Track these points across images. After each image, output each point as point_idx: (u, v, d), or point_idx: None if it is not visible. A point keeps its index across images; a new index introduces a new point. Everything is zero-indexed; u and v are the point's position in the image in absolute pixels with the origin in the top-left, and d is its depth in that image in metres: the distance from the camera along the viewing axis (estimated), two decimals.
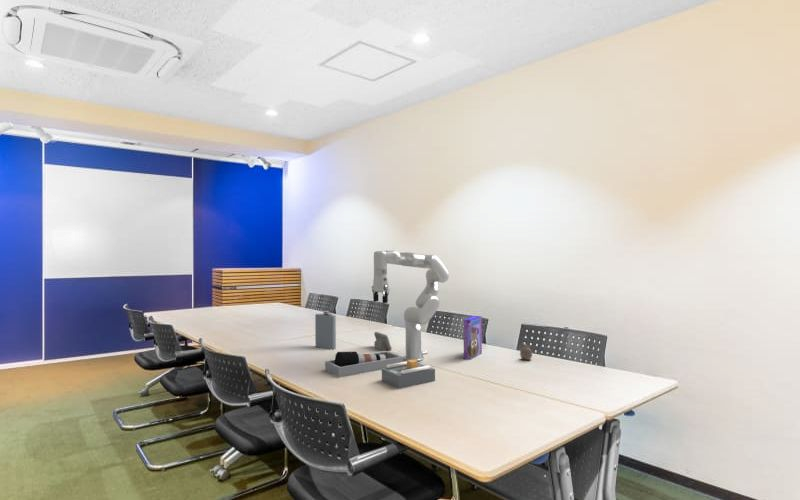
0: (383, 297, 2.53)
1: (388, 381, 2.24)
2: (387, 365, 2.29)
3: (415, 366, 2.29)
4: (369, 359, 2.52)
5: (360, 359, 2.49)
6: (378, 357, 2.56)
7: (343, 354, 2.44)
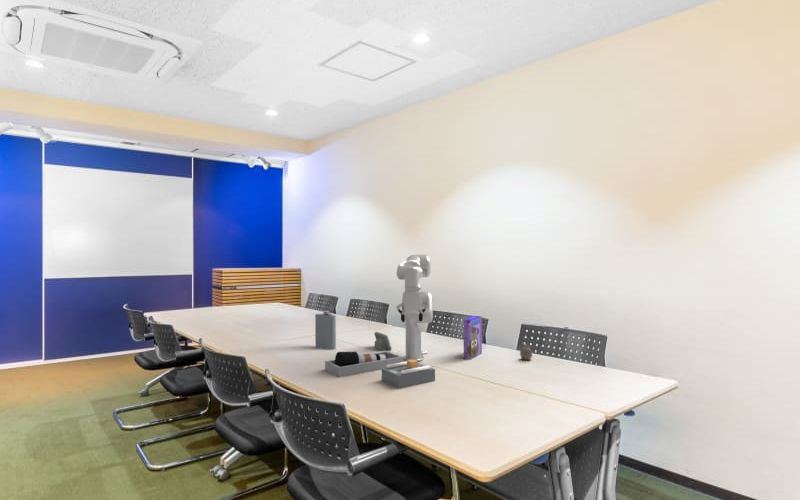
0: (421, 315, 2.41)
1: (388, 381, 2.24)
2: (387, 365, 2.29)
3: (415, 366, 2.29)
4: (369, 359, 2.52)
5: (360, 359, 2.49)
6: (378, 357, 2.56)
7: (343, 354, 2.44)
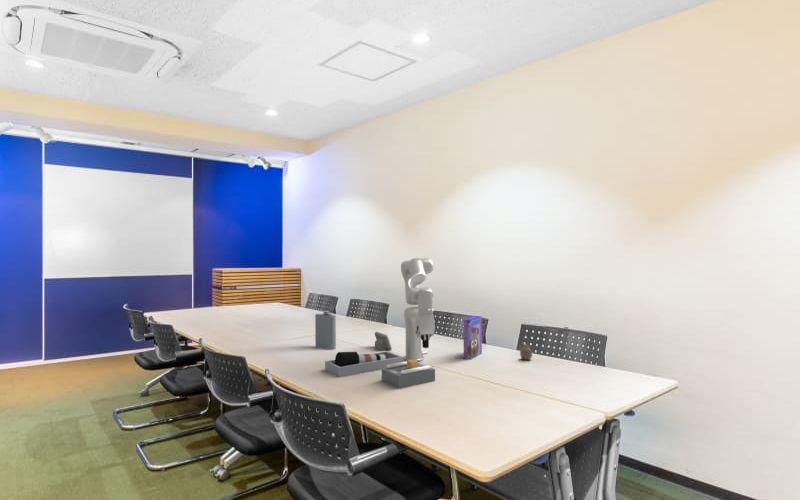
0: None
1: (388, 381, 2.24)
2: (387, 365, 2.29)
3: (415, 366, 2.29)
4: (369, 359, 2.52)
5: (360, 359, 2.49)
6: (378, 357, 2.56)
7: (343, 354, 2.44)
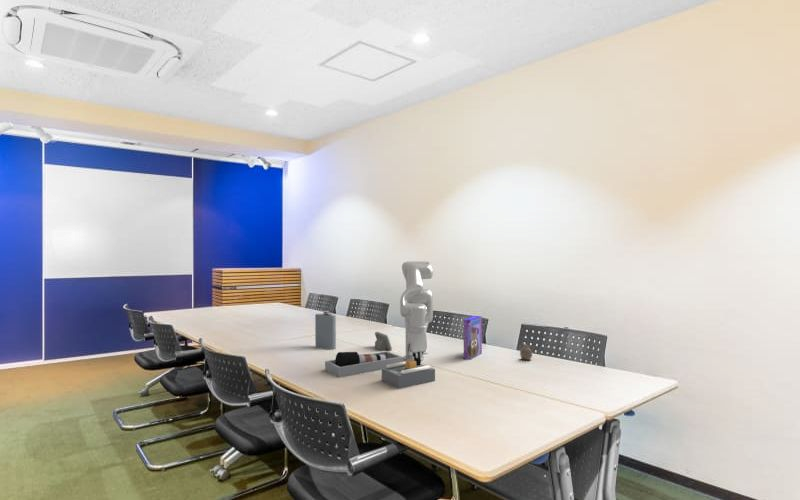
0: (419, 359, 2.31)
1: (388, 381, 2.24)
2: (387, 365, 2.29)
3: (414, 366, 2.28)
4: (370, 359, 2.52)
5: (361, 359, 2.48)
6: (378, 357, 2.56)
7: (344, 354, 2.44)
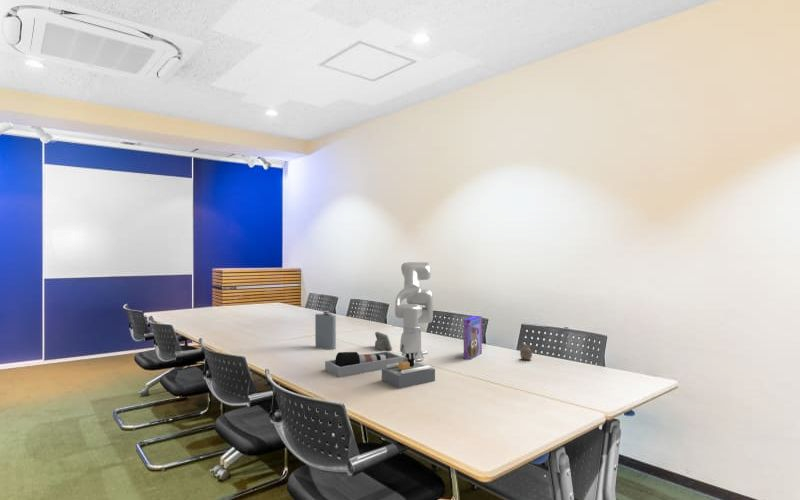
0: None
1: (388, 381, 2.24)
2: (387, 365, 2.29)
3: (407, 368, 2.26)
4: (370, 359, 2.52)
5: (361, 359, 2.48)
6: (378, 357, 2.56)
7: (344, 355, 2.43)
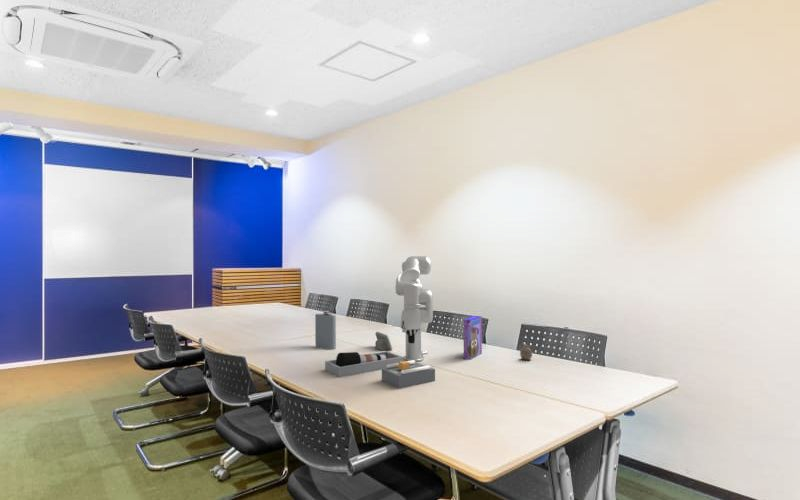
0: (413, 336, 2.29)
1: (388, 381, 2.24)
2: (387, 365, 2.29)
3: (407, 368, 2.26)
4: (370, 359, 2.51)
5: (362, 360, 2.48)
6: (379, 357, 2.56)
7: (345, 355, 2.43)
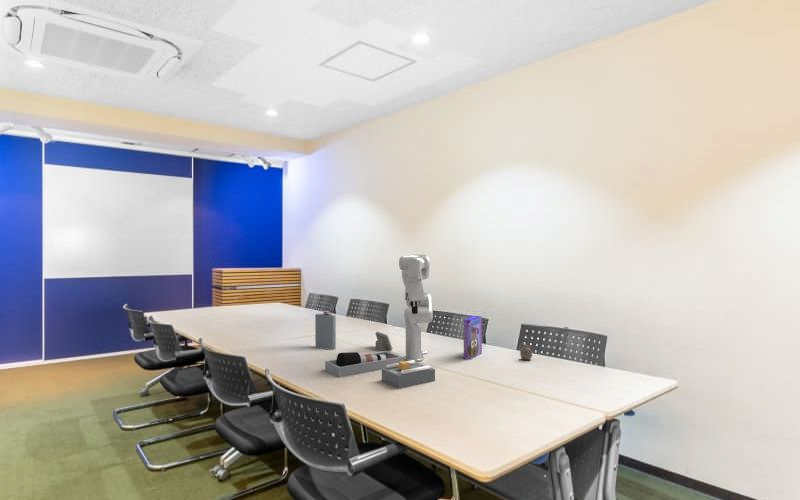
0: None
1: (388, 381, 2.24)
2: (387, 365, 2.29)
3: (407, 368, 2.26)
4: (370, 359, 2.51)
5: (362, 360, 2.48)
6: (379, 357, 2.56)
7: (345, 355, 2.42)
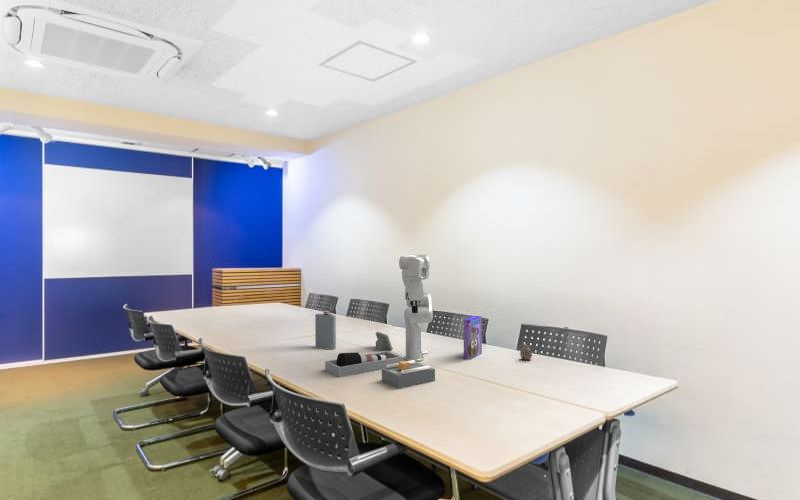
0: None
1: (388, 381, 2.24)
2: (387, 365, 2.29)
3: (407, 368, 2.26)
4: (371, 360, 2.51)
5: (362, 360, 2.47)
6: (379, 357, 2.55)
7: (346, 355, 2.42)
